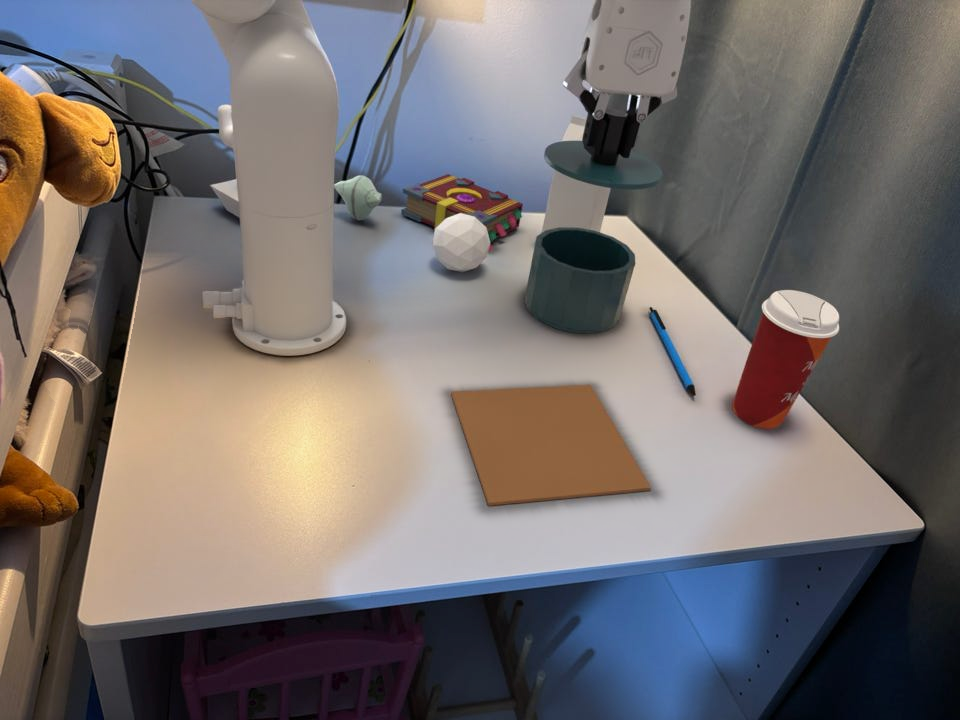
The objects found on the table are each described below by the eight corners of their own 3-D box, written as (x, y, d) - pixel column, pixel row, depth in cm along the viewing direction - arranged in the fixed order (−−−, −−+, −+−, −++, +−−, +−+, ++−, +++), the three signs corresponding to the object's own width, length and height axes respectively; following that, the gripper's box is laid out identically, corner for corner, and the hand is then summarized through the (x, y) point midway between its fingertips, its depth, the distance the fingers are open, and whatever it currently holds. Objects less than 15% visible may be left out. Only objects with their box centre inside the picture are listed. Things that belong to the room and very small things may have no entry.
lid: (566, 192, 75) (580, 129, 71) (527, 147, 86) (538, 89, 82) (680, 197, 79) (699, 137, 75) (630, 153, 90) (644, 98, 86)
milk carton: (555, 230, 114) (580, 110, 103) (597, 244, 112) (627, 122, 101) (538, 246, 109) (563, 120, 98) (582, 260, 106) (612, 133, 96)
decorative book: (445, 198, 119) (448, 169, 116) (526, 231, 112) (531, 201, 109) (400, 216, 111) (402, 185, 108) (484, 253, 104) (489, 221, 101)
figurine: (246, 229, 101) (239, 122, 92) (207, 206, 105) (197, 102, 97) (288, 217, 106) (286, 114, 97) (249, 195, 110) (244, 95, 102)
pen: (653, 311, 96) (655, 304, 96) (697, 400, 81) (701, 392, 80) (646, 310, 96) (648, 303, 95) (690, 399, 81) (693, 391, 80)
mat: (488, 506, 64) (488, 502, 63) (450, 394, 76) (451, 391, 76) (650, 490, 68) (651, 487, 68) (589, 387, 80) (590, 384, 80)
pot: (541, 334, 88) (554, 273, 83) (513, 283, 98) (523, 226, 93) (634, 332, 91) (651, 273, 87) (598, 283, 101) (612, 227, 96)
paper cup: (797, 442, 77) (852, 333, 69) (725, 426, 78) (771, 316, 70) (786, 399, 83) (835, 295, 75) (719, 385, 84) (761, 280, 76)
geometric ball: (467, 290, 100) (487, 266, 93) (416, 263, 99) (433, 237, 92) (486, 248, 103) (506, 221, 96) (437, 221, 102) (454, 192, 95)
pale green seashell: (329, 216, 108) (329, 173, 104) (345, 208, 111) (345, 165, 107) (374, 231, 105) (376, 188, 102) (389, 222, 109) (392, 180, 105)
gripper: (588, -34, 66) (548, 161, 76) (741, -13, 70) (684, 168, 81) (560, -45, 71) (527, 137, 82) (703, -25, 76) (655, 145, 86)
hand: (606, 151), depth 81 cm, fingers closed on lid, 3 cm apart
